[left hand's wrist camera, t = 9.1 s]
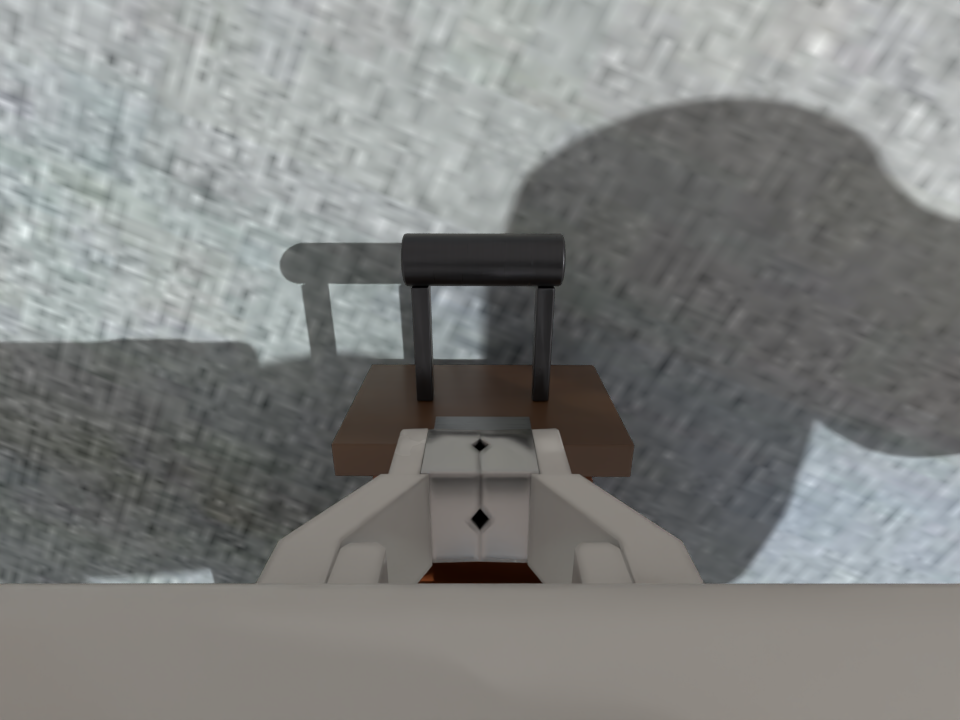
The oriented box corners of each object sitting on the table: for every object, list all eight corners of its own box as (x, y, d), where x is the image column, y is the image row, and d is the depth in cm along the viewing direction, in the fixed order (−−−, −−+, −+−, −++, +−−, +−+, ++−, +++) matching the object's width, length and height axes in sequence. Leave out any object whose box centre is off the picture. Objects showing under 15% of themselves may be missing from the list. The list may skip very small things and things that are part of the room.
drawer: (359, 220, 20) (306, 251, 14) (607, 221, 20) (660, 252, 14) (396, 655, 29) (373, 787, 23) (566, 655, 29) (588, 788, 23)
